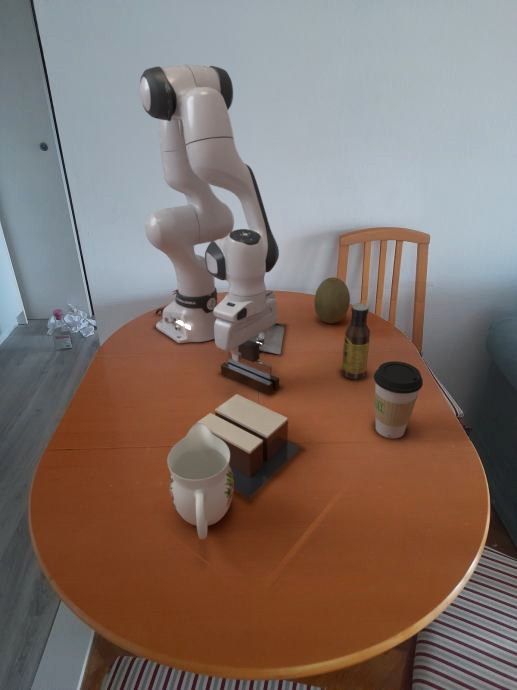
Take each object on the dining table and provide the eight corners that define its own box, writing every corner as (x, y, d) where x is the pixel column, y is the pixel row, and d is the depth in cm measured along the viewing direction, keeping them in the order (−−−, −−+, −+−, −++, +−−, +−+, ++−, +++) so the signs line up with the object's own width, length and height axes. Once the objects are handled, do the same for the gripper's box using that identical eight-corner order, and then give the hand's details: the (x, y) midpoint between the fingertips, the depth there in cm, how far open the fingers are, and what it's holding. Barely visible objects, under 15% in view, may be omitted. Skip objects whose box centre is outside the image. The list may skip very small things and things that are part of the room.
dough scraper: (226, 373, 119) (224, 336, 114) (232, 370, 121) (230, 332, 115) (268, 392, 112) (267, 353, 106) (273, 387, 113) (273, 349, 108)
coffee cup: (382, 409, 105) (390, 354, 97) (421, 428, 99) (433, 371, 91) (358, 429, 99) (365, 372, 92) (398, 450, 93) (408, 391, 85)
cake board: (175, 453, 93) (171, 426, 89) (229, 413, 104) (228, 388, 101) (249, 500, 82) (248, 471, 78) (300, 449, 93) (301, 422, 90)
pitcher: (170, 565, 71) (159, 505, 64) (176, 480, 86) (168, 425, 80) (239, 558, 72) (235, 498, 65) (232, 475, 87) (229, 420, 81)
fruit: (314, 312, 152) (317, 270, 145) (348, 315, 150) (352, 272, 143) (311, 327, 142) (313, 283, 135) (347, 330, 140) (351, 285, 133)
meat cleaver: (280, 354, 128) (280, 342, 126) (241, 352, 129) (241, 340, 127) (287, 307, 157) (288, 296, 155) (255, 306, 158) (255, 295, 156)
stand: (221, 374, 119) (220, 364, 118) (232, 367, 122) (231, 357, 121) (268, 395, 110) (268, 385, 109) (279, 387, 113) (279, 377, 112)
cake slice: (199, 446, 94) (196, 422, 90) (212, 436, 96) (210, 412, 93) (250, 477, 86) (249, 451, 83) (263, 465, 89) (262, 440, 86)
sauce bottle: (344, 366, 122) (350, 299, 112) (367, 370, 120) (375, 302, 110) (338, 378, 117) (345, 309, 107) (362, 383, 115) (371, 312, 105)
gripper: (263, 285, 114) (264, 333, 121) (208, 311, 100) (212, 364, 107) (284, 290, 110) (283, 339, 117) (229, 319, 97) (232, 373, 103)
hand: (249, 351), depth 112 cm, fingers open, 8 cm apart
